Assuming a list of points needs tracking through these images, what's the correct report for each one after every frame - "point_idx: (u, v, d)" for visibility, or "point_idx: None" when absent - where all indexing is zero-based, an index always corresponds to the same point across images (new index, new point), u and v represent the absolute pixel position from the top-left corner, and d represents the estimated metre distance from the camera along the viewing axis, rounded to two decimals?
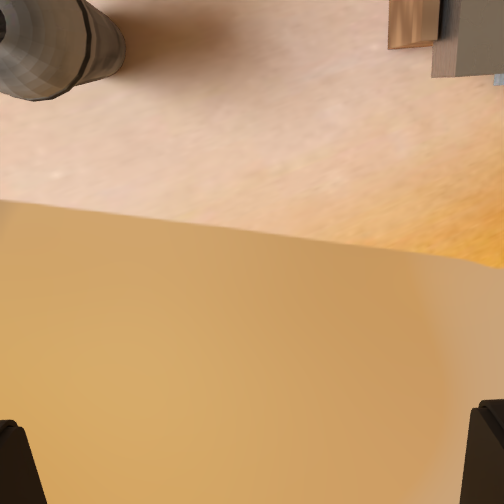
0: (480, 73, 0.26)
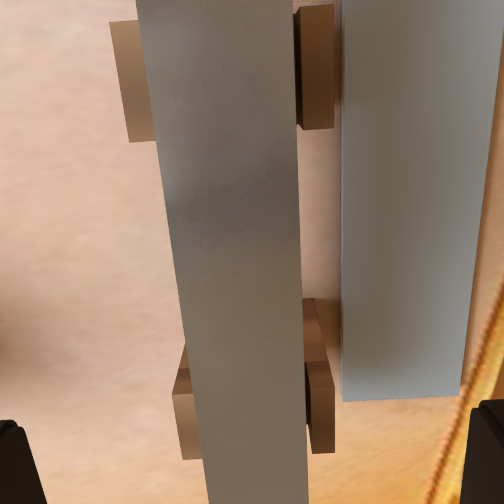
0: None
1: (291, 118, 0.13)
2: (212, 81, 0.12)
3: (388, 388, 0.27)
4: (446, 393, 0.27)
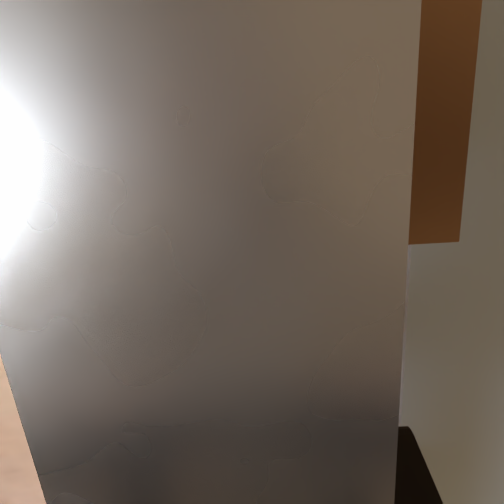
0: None
1: (393, 268, 0.04)
2: (145, 160, 0.04)
3: None
4: None
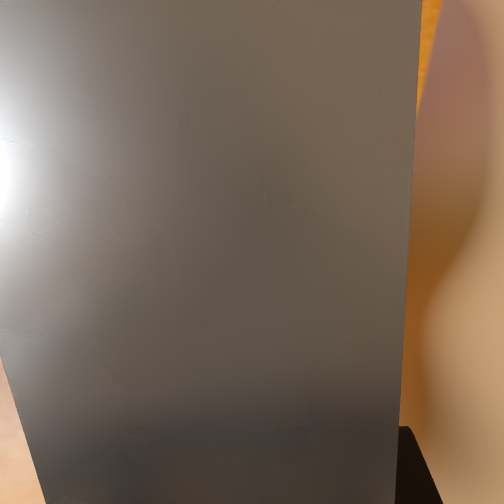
0: None
1: (393, 273, 0.04)
2: (147, 165, 0.04)
3: None
4: None
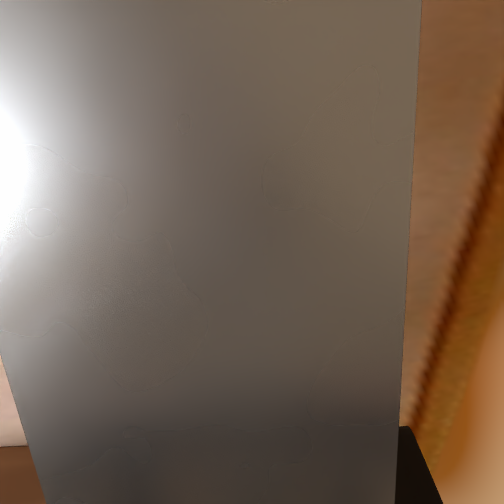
0: None
1: (393, 274, 0.04)
2: (146, 167, 0.04)
3: None
4: None
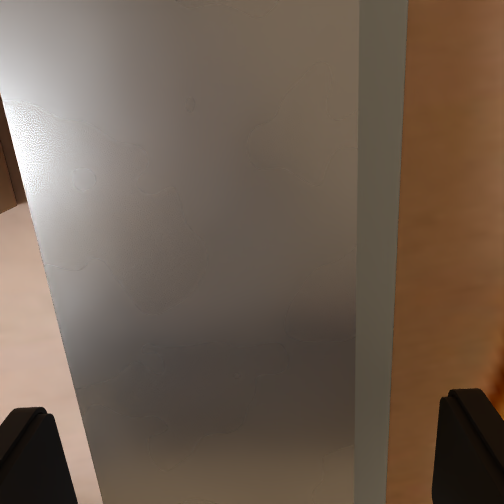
0: None
1: (346, 218, 0.06)
2: (162, 137, 0.05)
3: None
4: None
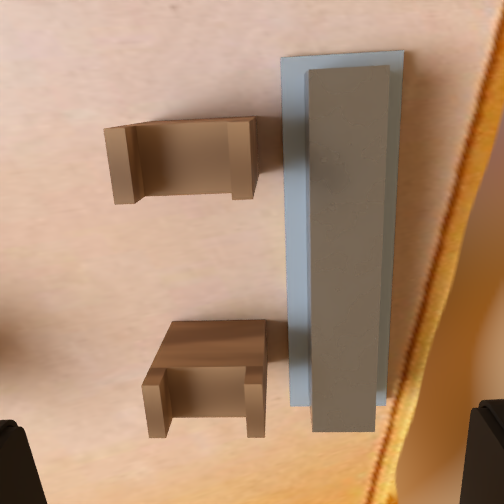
0: (334, 430, 0.29)
1: (383, 170, 0.24)
2: (343, 151, 0.24)
3: None
4: None
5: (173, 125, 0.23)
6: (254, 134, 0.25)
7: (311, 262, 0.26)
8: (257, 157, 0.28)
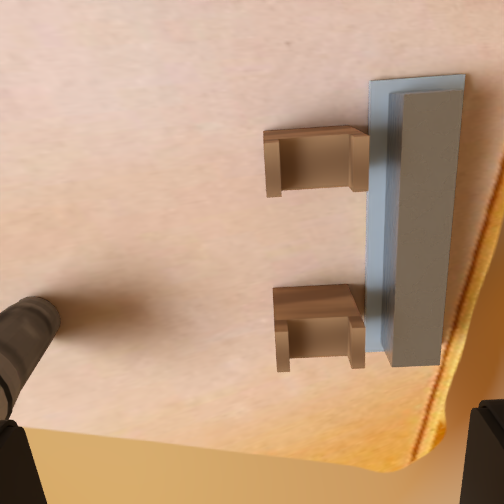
0: (409, 365, 0.38)
1: (455, 166, 0.32)
2: (426, 153, 0.32)
3: None
4: None
5: (306, 138, 0.31)
6: None
7: (398, 236, 0.34)
8: None
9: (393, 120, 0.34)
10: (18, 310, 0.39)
